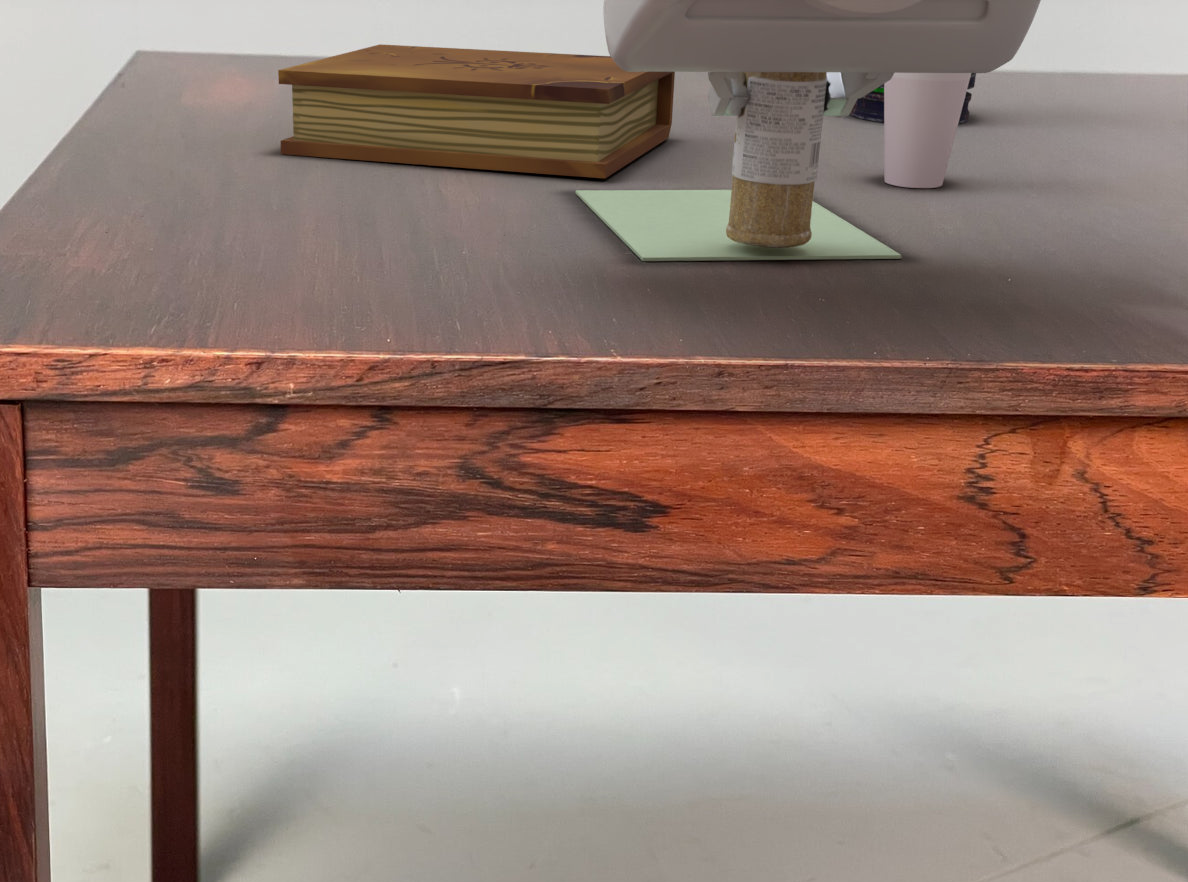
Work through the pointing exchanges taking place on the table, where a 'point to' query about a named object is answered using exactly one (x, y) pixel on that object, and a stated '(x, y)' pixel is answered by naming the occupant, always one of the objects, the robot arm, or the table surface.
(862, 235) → the mat
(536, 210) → the table surface
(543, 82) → the diary
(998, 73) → the table surface
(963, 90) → the smoothie
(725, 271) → the table surface
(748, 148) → the sprinkles bottle
